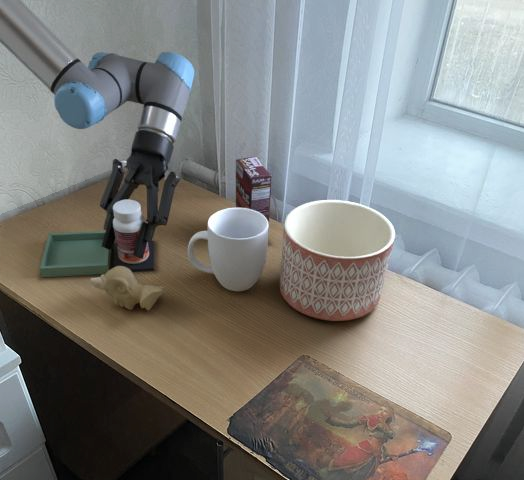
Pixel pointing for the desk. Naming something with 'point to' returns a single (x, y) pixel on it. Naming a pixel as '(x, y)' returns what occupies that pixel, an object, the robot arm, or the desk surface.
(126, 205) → the pill bottle
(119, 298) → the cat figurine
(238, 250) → the mug
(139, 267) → the scrub mat
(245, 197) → the supplement box
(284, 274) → the planter
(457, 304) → the desk surface
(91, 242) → the tray
